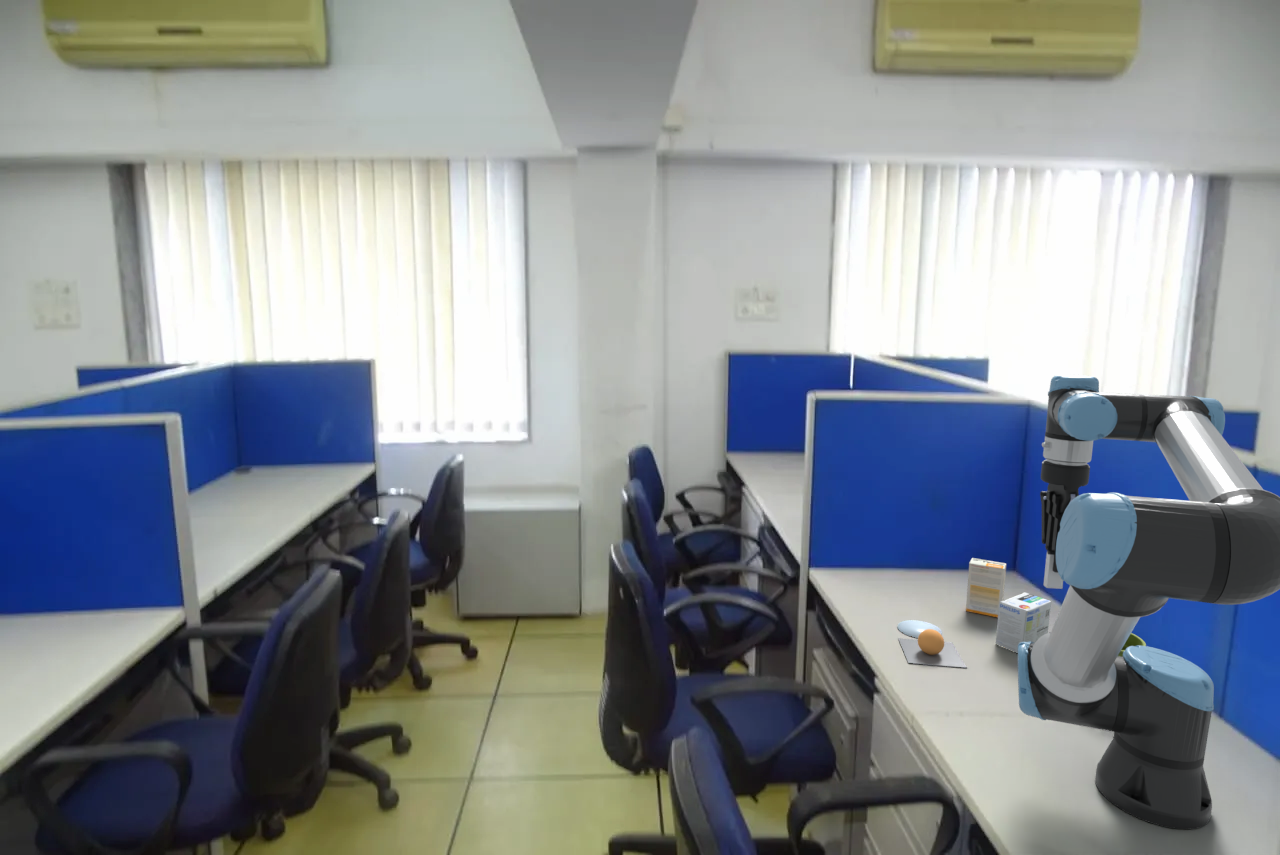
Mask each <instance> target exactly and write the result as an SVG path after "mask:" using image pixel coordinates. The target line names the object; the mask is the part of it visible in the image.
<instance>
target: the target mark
mask: <svg viewBox="0 0 1280 855" xmlns="http://www.w3.org/2000/svg"><path fill="white" fill-rule="evenodd" d="M898 639H899V640H898V642H899V644H901V645H900V647H901V646H902V647H901V649H902V651H904V652H903V654H904V656H906V657H905V659H906V658H907V659H906V661H907V664H908V663H913V664H912V665H919V664H923V665H922V666H932V665H933V667H944V666H945V667H946V666H947V667H946V668H956V667H961V668H960V669H967V668H968V667H967V665H966V664H965V661H964V660H963V658H962V656H961V655H960V653H959V651H958V649H957V648H956V646H955V645H954V642H951V641H944V648H943V650H942V651H941V652H940V653H938V654H935V655H930V654H926V653H925V652H923V651H922V650H921V649H920V647H919V645H918V639H917V638H911V639H910V638H904V637H903V638H902V637H900V638H899V637H898Z"/></svg>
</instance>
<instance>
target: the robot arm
mask: <svg viewBox="0 0 1280 855" xmlns="http://www.w3.org/2000/svg"><path fill="white" fill-rule="evenodd" d="M1047 396H1048V402H1047V413H1046V423H1045V424H1046V425H1045V432H1044V442H1042V443H1041V446H1042V448H1043V452H1042V457H1043V458H1044V460H1043V461H1042V462H1041V469H1040V479H1041V481H1042V482H1043V483H1047V484H1048V485H1047V490H1046V491H1043V490H1042V491H1040V492H1039V497H1040V504H1041V544H1042V545H1044V546H1045V550H1046V555H1045V566H1044V567H1045V568H1044V577H1043V586H1044V587H1045V588H1046V589H1057V590H1058V589H1061V590H1063V587H1064V582H1065V583H1066V585H1069V587H1068V589H1067V591H1066V594H1065V596H1064V600H1063V602H1062V604H1061V606H1060V609H1059V611H1058V614H1057V617H1056V619H1055V621H1054V624H1053V626H1052V629H1051V631H1050V632H1049V631H1048V633H1047V634H1044V635H1043V636H1041V637H1040V638H1039V639H1038V640H1037V641H1036V642H1035V643H1034V642H1031V641H1029V642H1020V643H1019V644H1018V654H1017V686H1018V690H1017V691H1018V692H1017V693H1018V706H1019V709H1020V711H1021V712H1022V713H1023V714H1025V715H1027V716H1031V717H1032V718H1033V717H1034V718H1038V719H1040V720H1042V721H1047V720H1048V721H1054V722H1060V723H1065V724H1070V725H1076V726H1081V727H1086V728H1091V729H1096V730H1097V729H1098V730H1103V731H1108V732H1112V733H1113V738H1112V740H1111V742H1110V743H1109V745H1108V746H1107V747H1106V750H1105V751H1104V753H1103V754H1102V757H1101V759H1100V760H1098V762H1097V765H1096V767H1095V776H1094V779H1095V780H1094V781H1095V785H1096V787H1097V788H1098V791H1100V793H1101V794H1102V796H1104V797H1105V798H1106V799H1107V800H1108V801H1109V802H1111V803H1112V804H1113V805H1115V806H1116V807H1118V809H1120V810H1122V811H1124V812H1125V813H1127V814H1130V815H1132V816H1133V817H1136V818H1138V819H1141V820H1142V821H1145V822H1148V823H1150V824H1154V825H1158V826H1161V827H1166V828H1169V829H1170V828H1171V829H1178V830H1193V829H1199V828H1202V827H1204V826H1206V825H1207V824H1208V823H1209V822H1210V819H1211V816H1212V810H1213V800H1212V797H1211V793H1210V792H1211V791H1210V789H1209V784H1208V780H1207V776H1206V772H1205V769H1204V762H1205V756H1206V749H1207V744H1208V735H1209V730H1210V723H1211V718H1212V712H1213V710H1215V708H1214V707H1215V705H1214V692H1215V688H1214V687H1215V686H1214V682H1213V680H1212V679H1211V677H1210V676H1209V674H1208V673H1207V672H1206V671H1205V670H1203V668H1201V667H1200V666H1198V665H1197V664H1196V663H1193V662H1192V661H1190V660H1188V659H1186V658H1183V657H1182V656H1180V655H1177V654H1174V653H1172V652H1169V651H1167V650H1163V649H1160V648H1156V647H1152V646H1148V645H1146V646H1139V645H1137V646H1129V647H1127V648H1126V650H1125V651H1124V652H1123V657H1121V656H1118V654H1119V653H1120V651H1121V649H1122V648H1123V646H1124V644H1125V642H1126V641H1127V639H1128V637H1129V636H1130V634H1131V633H1132V632H1133V631H1134V629H1135V626H1137V624H1138V622H1139V620H1140V618H1143V617H1144V618H1145V617H1148V616H1150V615H1153V614H1155V613H1157V612H1158V611H1160V610H1161V609H1162V608H1163V607H1164V606H1165V605H1166V603H1168V601H1169V599H1172V600H1173V599H1174V600H1181V601H1187V602H1198V603H1205V604H1207V603H1208V604H1214V605H1225V606H1226V605H1227V606H1228V605H1229V606H1230V605H1231V606H1234V605H1243V604H1248V603H1254V602H1256V601H1259V600H1262V599H1264V598H1266V597H1269V596H1271V595H1273V594H1274V593H1276V592H1278V591H1279V590H1280V496H1279V495H1277V494H1275V493H1273V492H1271V491H1268V490H1265V489H1263V487H1262V486H1261V484H1260V483H1259V482H1258V481H1257V479H1256V478H1255V477H1254V475H1253V474H1252V472H1250V470H1249V469H1248V468H1247V466H1246V465H1245V464H1244V463H1243V462H1242V460H1241V459H1240V457H1239V456H1238V455H1237V453H1236V452H1235V451H1234V450H1233V448H1232V447H1231V446H1230V445H1229V443H1228V442H1227V440H1226V439H1225V438H1224V436H1223V434H1224V430H1225V426H1226V425H1225V424H1226V415H1225V414H1226V413H1225V412H1224V406H1223V404H1222V403H1221V402H1220V401H1219V399H1218V400H1217V399H1216V398H1211V397H1202V396H1196V395H1168V394H1167V395H1165V394H1164V395H1159V394H1139V393H1116V392H1100V381H1099V379H1098V378H1097V377H1095V376H1091V375H1090V376H1089V375H1079V374H1073V375H1072V374H1057V375H1054V376H1053V377H1052V378H1051V380H1050V385H1049V391H1047ZM1101 439H1102V440H1103V439H1104V440H1118V441H1132V442H1133V441H1135V442H1147V443H1148V442H1150V443H1156V445H1157V446H1158V448H1159V450H1160V451H1161V453H1162V454H1163V457H1164V458H1165V459H1166V462H1167V463H1168V465H1169V467H1170V468H1171V470H1172V472H1173V475H1174V476H1175V477H1176V479H1177V481H1178V482H1179V485H1180V487H1181V488H1182V489H1183V491H1184V493H1185V495H1186V497H1187V498H1188V500H1183V499H1171V498H1160V497H1159V498H1157V497H1147V496H1135V495H1134V496H1133V495H1125V494H1123V493H1120V492H1107V493H1106V492H1105V493H1095V492H1087V493H1085V492H1084V493H1082V494H1079V493H1080V492H1079V488H1080V487H1085V486H1088V485H1089V481H1090V472H1091V466H1090V465H1089V464H1088V463H1090V462H1091V461H1092V458H1093V457H1092V456H1093V447H1094V441H1098V440H1101Z"/></svg>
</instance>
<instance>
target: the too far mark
mask: <svg viewBox="0 0 1280 855" xmlns="http://www.w3.org/2000/svg"><path fill="white" fill-rule="evenodd" d="M927 629H933V630H936V631H938V632H939V633H940V634H941V635H942V636H943V631H942V629H941V628H940V627H939V626H937V625H935V624H934V623H931V622H927V621H924V620H917V619H912V620H911V619H910V620H909V619H908V620H903V621H900V622H898V624H897V630H899V632H901V633H902V632H903V633H902V634H904V635H906V636H909V637H911V636H912V637H911V638H914V637H915V638H914V639H918V637H919V635H920V633H921V632H922V631H924V630H927Z"/></svg>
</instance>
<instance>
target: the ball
mask: <svg viewBox="0 0 1280 855" xmlns="http://www.w3.org/2000/svg"><path fill="white" fill-rule="evenodd" d="M917 640H918V645H919V647H920V649H921V650H922V651H923V652H925V653H926V654H930V655H935V654H938V653H940V652H941V651H942V650H943V648H944V642H945V640H944V637H943V634H942V635H941V634H940V633H939V632H938V631H936V630H933V629H927V630H924V631H922V632H921V633H920V635H919V637H918V638H917Z"/></svg>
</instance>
